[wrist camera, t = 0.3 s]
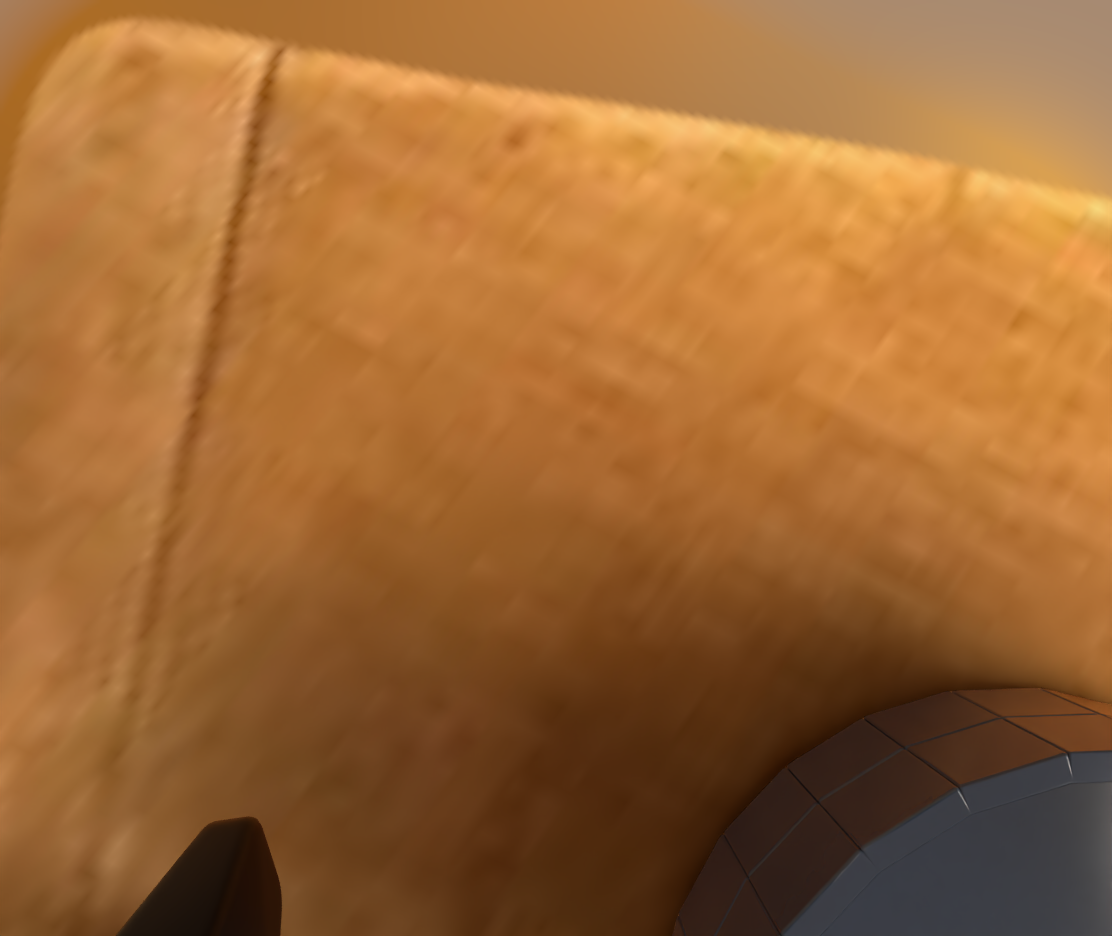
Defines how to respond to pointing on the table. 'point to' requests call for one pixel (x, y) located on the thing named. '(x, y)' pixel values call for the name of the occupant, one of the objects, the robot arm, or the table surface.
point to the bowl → (927, 827)
